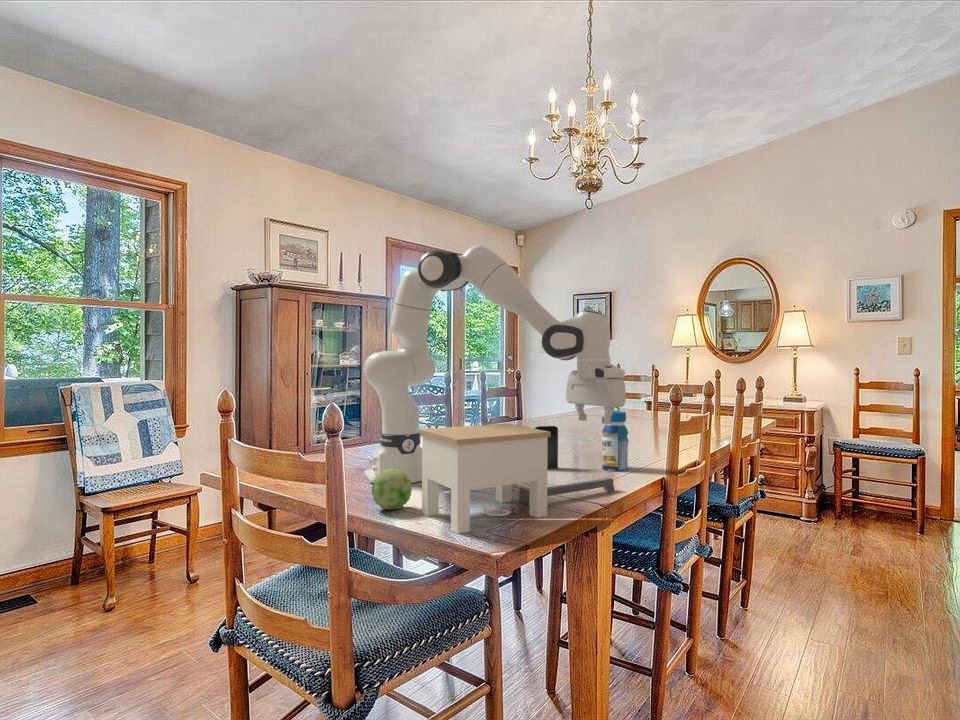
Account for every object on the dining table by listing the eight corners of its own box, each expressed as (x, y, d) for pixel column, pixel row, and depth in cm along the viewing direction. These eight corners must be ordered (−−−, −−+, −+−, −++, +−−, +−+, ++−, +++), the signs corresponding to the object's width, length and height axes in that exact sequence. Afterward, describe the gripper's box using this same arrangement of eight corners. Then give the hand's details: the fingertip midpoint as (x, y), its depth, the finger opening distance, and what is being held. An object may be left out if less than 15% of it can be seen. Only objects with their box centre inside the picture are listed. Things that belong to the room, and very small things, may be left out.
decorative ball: (420, 508, 138) (420, 468, 138) (389, 517, 130) (389, 474, 130) (393, 501, 144) (393, 463, 144) (362, 509, 137) (362, 469, 137)
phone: (556, 471, 183) (556, 425, 183) (557, 471, 182) (558, 426, 182) (533, 472, 181) (534, 426, 181) (535, 473, 180) (535, 426, 180)
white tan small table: (419, 512, 134) (419, 429, 134) (505, 499, 147) (506, 423, 147) (456, 534, 118) (456, 439, 118) (550, 517, 131) (550, 431, 130)
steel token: (477, 512, 136) (477, 507, 136) (501, 508, 139) (501, 504, 139) (492, 520, 130) (492, 515, 130) (517, 515, 133) (517, 510, 133)
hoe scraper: (540, 512, 135) (540, 494, 135) (519, 503, 143) (519, 487, 143) (623, 497, 149) (623, 481, 149) (599, 490, 157) (599, 475, 157)
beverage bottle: (631, 476, 176) (631, 413, 175) (604, 476, 176) (604, 413, 175) (624, 470, 184) (624, 410, 184) (599, 470, 184) (599, 410, 184)
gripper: (560, 370, 157) (560, 419, 157) (611, 371, 139) (611, 426, 139) (577, 370, 160) (578, 418, 160) (629, 371, 143) (629, 425, 143)
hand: (594, 422), depth 150 cm, fingers open, 8 cm apart
